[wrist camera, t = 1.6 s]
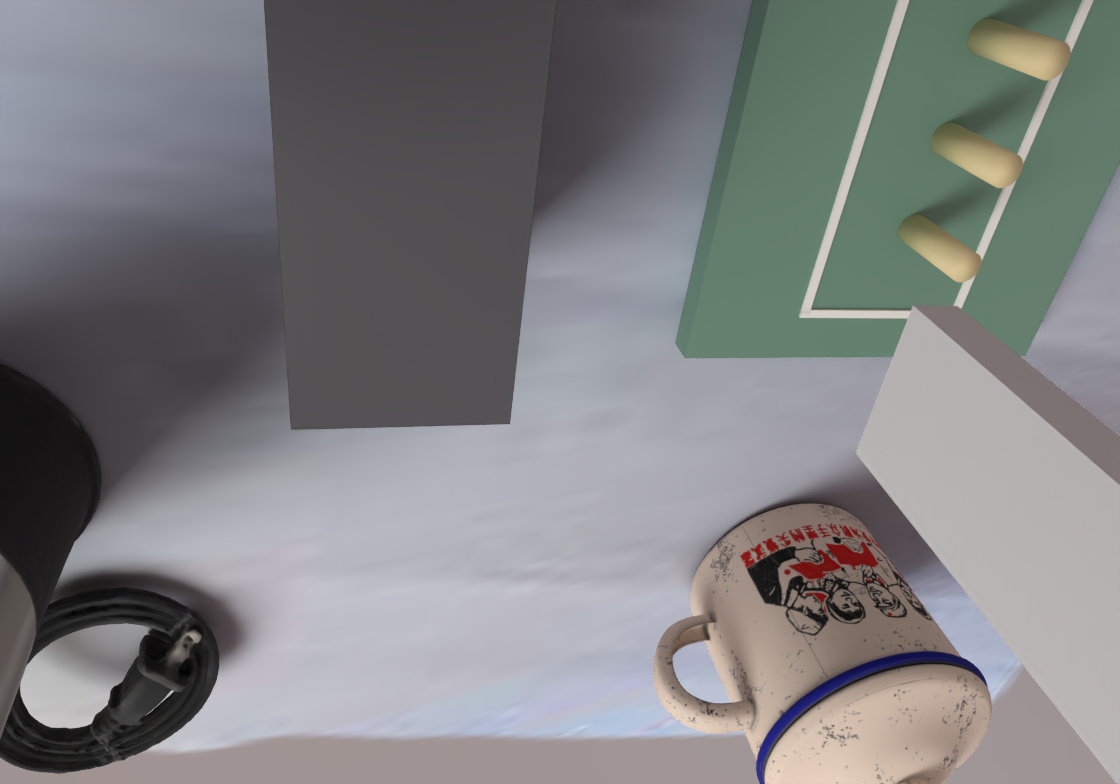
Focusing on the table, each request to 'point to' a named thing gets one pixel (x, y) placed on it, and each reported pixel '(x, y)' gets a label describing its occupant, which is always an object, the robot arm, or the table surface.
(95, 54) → the table surface
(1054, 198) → the pin board
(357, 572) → the table surface
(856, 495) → the table surface
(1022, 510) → the robot arm
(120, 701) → the milk frother
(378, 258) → the block
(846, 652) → the teacup with lid
